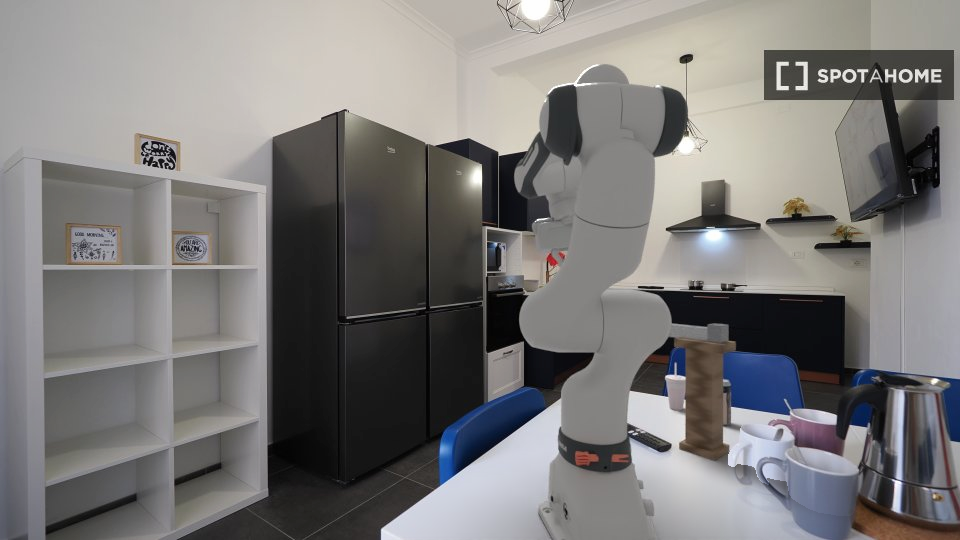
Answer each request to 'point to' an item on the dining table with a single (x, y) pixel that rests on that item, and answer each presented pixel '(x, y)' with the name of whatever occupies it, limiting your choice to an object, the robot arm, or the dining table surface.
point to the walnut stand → (704, 397)
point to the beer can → (726, 402)
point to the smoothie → (676, 390)
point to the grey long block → (701, 332)
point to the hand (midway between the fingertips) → (580, 264)
